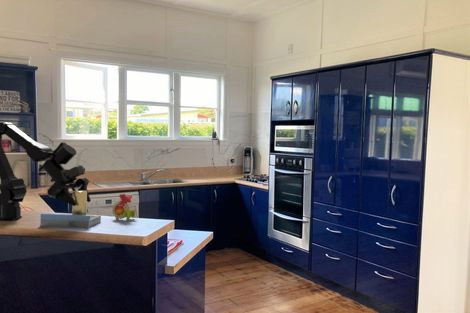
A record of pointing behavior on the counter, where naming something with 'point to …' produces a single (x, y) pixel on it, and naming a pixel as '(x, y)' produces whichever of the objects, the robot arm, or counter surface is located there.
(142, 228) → the counter surface
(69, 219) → the jig
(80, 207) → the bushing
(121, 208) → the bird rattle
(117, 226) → the counter surface
